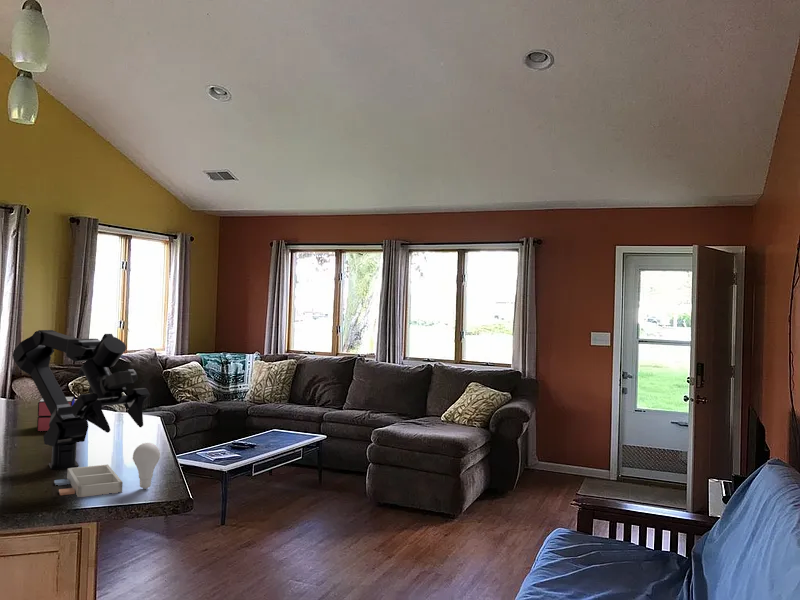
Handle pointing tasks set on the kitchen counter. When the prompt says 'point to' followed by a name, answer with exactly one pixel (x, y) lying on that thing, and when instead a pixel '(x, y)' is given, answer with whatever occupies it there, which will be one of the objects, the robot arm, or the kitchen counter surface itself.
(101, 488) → the socket board
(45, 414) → the puzzle cube
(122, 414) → the kitchen counter surface
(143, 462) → the lightbulb
